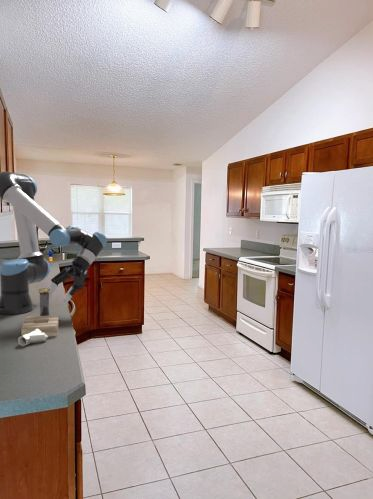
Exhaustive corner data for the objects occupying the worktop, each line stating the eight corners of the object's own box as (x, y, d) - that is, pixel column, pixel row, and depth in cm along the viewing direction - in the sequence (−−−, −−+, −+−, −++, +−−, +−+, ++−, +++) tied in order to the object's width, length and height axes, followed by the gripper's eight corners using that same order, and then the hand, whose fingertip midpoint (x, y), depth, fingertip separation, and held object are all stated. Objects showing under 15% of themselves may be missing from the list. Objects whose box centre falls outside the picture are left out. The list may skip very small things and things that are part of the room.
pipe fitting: (49, 341, 125) (33, 338, 127) (50, 330, 125) (33, 327, 126) (35, 349, 117) (17, 345, 119) (35, 338, 117) (18, 334, 118)
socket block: (26, 326, 139) (26, 316, 138) (58, 324, 142) (58, 315, 142) (21, 338, 125) (21, 327, 125) (57, 335, 129) (56, 325, 129)
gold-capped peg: (39, 318, 150) (39, 288, 149) (50, 317, 152) (50, 288, 150) (38, 321, 146) (38, 290, 145) (49, 320, 147) (49, 290, 146)
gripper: (106, 268, 156) (78, 308, 146) (72, 263, 171) (44, 298, 160) (96, 257, 151) (67, 298, 141) (62, 253, 166) (33, 289, 155)
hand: (55, 298), depth 150 cm, fingers open, 13 cm apart
